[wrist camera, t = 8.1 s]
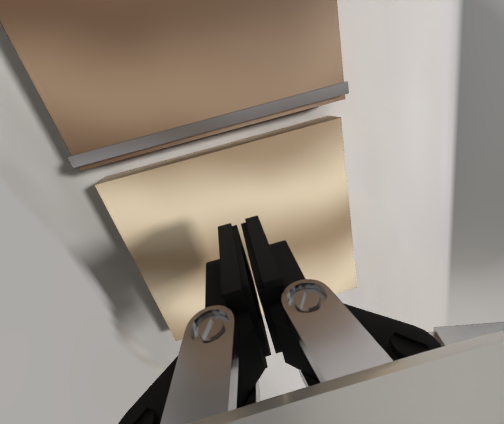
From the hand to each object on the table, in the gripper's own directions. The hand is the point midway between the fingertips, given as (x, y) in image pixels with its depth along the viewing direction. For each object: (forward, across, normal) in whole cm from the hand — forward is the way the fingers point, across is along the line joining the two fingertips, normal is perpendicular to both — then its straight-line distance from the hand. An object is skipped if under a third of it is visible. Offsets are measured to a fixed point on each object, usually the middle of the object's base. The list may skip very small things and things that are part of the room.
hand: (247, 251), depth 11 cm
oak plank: (+5, 0, +2) cm, 6 cm away
